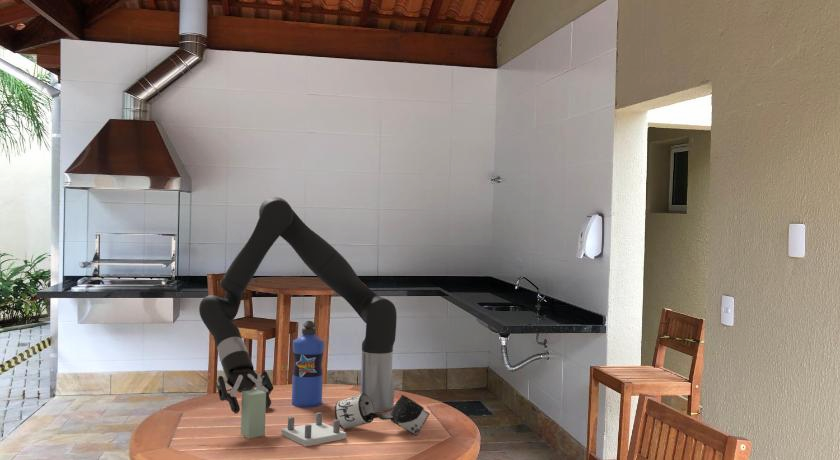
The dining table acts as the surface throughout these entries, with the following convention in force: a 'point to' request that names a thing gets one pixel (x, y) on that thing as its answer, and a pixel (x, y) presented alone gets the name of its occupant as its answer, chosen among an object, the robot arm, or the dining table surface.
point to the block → (253, 413)
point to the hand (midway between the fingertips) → (253, 409)
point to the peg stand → (313, 432)
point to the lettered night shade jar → (362, 413)
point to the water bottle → (307, 368)
